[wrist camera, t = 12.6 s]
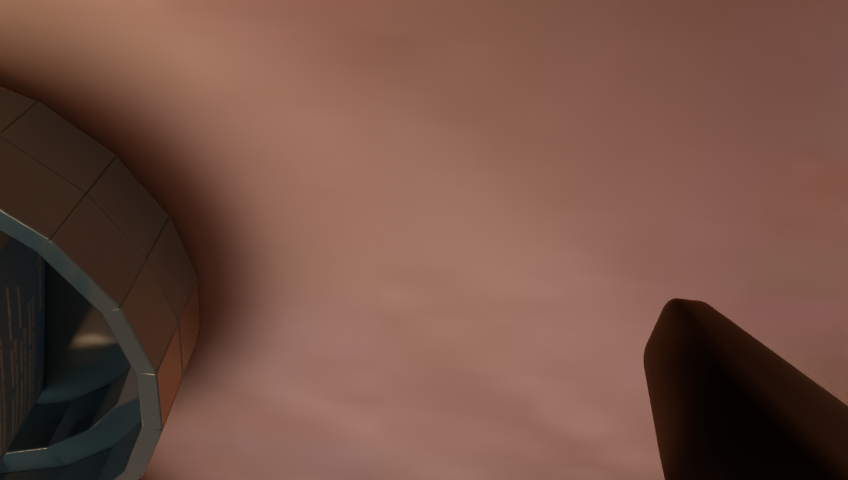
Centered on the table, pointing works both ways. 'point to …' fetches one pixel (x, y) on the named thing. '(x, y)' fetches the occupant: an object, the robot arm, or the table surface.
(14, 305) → the blue retail package
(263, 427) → the table surface
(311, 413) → the table surface
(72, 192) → the bowl
